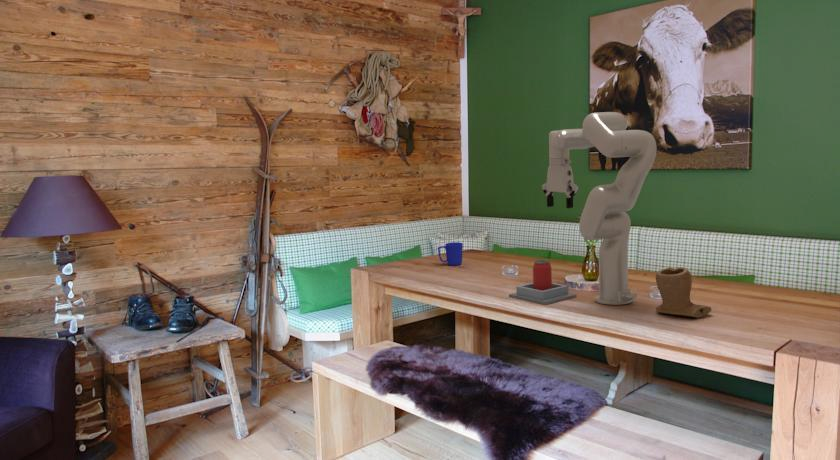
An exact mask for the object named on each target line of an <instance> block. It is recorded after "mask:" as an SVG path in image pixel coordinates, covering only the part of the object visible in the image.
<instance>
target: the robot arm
mask: <svg viewBox="0 0 840 460" xmlns="http://www.w3.org/2000/svg"><path fill="white" fill-rule="evenodd" d="M627 127H628V120H627V118H626V117H625V115H623V114H621V113H619V112H616V111H615V112H614V111H604V112H603V111H602V112H600V111H599V112H597V111H596V112H592V113H589V114H588V115H586V116H585V117H584V120H583V122H582V128H569V129H560V130H552V131H550V132H549V133H548V145H549V146H548V153H549V154H548V157H549V158H548V160H549V166H548V167H547V175H546V182H545V183H543V184H541V188H542V191H543V193H544V194H545V197H546V207H547V208H551V207H554V206H555V205H554V203H555V201H554V193H560V194H561V193H564V194H565V195H566V198H565V200H566V201H565V202H566V203H565V206H566V207H565V208H566V209H572V208H574V198H575V196H576V195H577V193H578V190H579V186H578V185H577V184H575V181H574V175H573V173H574V172H573V170H572V166H571V165H570V164H571V163H572V160H571V159H570V150H586V149H590V148H594V147H595V148H596V150H598V151H599V152H600V153H601V155H603V156H605V157H606V158H613V159H614V158H626V157H629V159H628V160H627V161H626V162H624V164H623V165H622V166H621V167H620V169H619V170H618V173H617V175H616V178H615V180H614V181H613V182H612V183H610V184H609V183H607V184H599V185H597V186H594V187H593V188H592V189H591V191H589V194H588V196H587V199H586V201H585V204H584V208H583V210H582V213H581V215H580V219H579V225H578V227H579V233H580V235H581V237H582V238H583V239H585V240H587V241H599V240H602V241H601V243H600V244H599V245H600V246H599V249H598V295H595V296H594V301H595V302H596V303H597V304H601V305H607V306H608V305H611V306H619V305H621V306H622V305H629V304H631V303H633V301H636V298H637V293H633V292H631V288H629V284H628V283H629V281H628V280H629V275H628V274H629V271H628V270H629V266H628V260H629V258H628V256H629V255H628V252H629V236H630V232H631V226H632V225H631V224H632V221H631V218H630V216H629V214H628V213H627V212H628V211H631V210H632V209H633V208H634V206H635V204H636V202H637V199H638V198H639V194H640V193H641V190H642V187H643V185H644V182H645V179H646V177H647V176H648V174H649V173H650V170H651V168H653V167H652V166H653V165H654V162H655V159H656V157H657V150H658V149H657V142H656V139H655V137H654V136H653V134H652V133H650V132H649V131H647V130H642V129H627Z"/></svg>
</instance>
